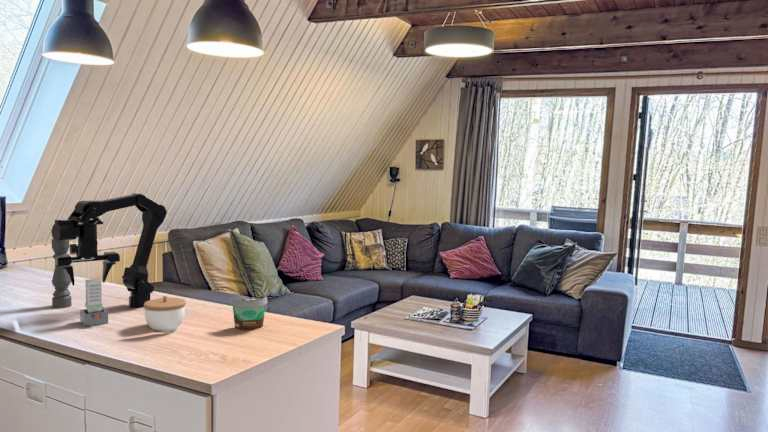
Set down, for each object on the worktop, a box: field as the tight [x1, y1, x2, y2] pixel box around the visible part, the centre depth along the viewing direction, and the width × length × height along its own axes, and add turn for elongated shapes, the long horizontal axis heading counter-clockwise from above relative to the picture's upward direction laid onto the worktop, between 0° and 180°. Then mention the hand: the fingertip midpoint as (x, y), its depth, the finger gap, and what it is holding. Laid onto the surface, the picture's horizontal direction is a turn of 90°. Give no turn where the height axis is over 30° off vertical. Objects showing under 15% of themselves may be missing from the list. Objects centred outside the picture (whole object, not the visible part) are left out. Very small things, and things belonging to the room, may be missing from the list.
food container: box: [230, 295, 268, 331], centre depth 183 cm, size 12×6×10 cm, turn 117°
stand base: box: [79, 306, 109, 327], centre depth 181 cm, size 14×14×5 cm
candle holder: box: [51, 238, 72, 309], centre depth 203 cm, size 6×6×25 cm
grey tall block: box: [84, 278, 103, 314], centre depth 180 cm, size 4×5×10 cm
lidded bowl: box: [143, 295, 187, 334], centre depth 179 cm, size 13×13×11 cm
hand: (88, 283), depth 187 cm, fingers open, 9 cm apart
